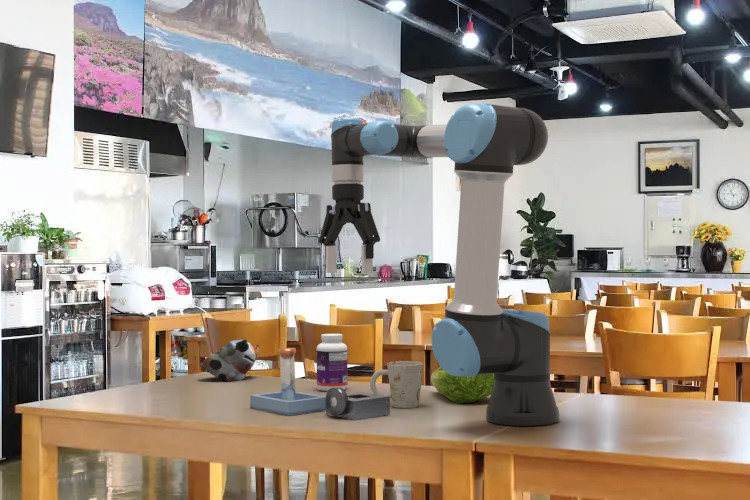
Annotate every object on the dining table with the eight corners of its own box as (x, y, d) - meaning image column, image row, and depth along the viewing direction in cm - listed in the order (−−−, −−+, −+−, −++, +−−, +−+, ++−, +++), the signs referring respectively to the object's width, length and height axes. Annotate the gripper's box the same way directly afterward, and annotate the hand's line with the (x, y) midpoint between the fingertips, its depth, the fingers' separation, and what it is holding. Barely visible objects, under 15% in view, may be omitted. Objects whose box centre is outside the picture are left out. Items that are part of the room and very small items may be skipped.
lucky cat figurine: (225, 374, 291) (248, 333, 291) (251, 394, 284) (274, 351, 284) (191, 365, 279) (214, 321, 279) (217, 385, 272) (241, 340, 272)
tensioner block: (390, 414, 217) (389, 385, 217) (347, 421, 209) (347, 390, 209) (361, 409, 224) (360, 380, 224) (319, 415, 217) (318, 385, 217)
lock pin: (301, 406, 226) (299, 348, 226) (286, 408, 223) (284, 350, 223) (291, 404, 229) (289, 347, 229) (276, 406, 226) (274, 349, 226)
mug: (420, 409, 223) (420, 365, 223) (366, 408, 226) (365, 364, 226) (426, 403, 232) (425, 361, 232) (373, 402, 234) (373, 360, 234)
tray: (327, 410, 224) (327, 396, 224) (288, 415, 217) (287, 402, 217) (289, 403, 235) (289, 390, 235) (250, 408, 228) (250, 395, 228)
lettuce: (465, 370, 255) (428, 342, 251) (513, 374, 232) (473, 344, 229) (442, 410, 252) (404, 383, 248) (488, 418, 229) (447, 389, 226)
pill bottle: (313, 388, 260) (312, 333, 260) (343, 387, 262) (342, 332, 262) (321, 392, 252) (320, 336, 252) (351, 391, 254) (350, 335, 254)
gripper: (394, 180, 228) (395, 273, 228) (328, 187, 247) (329, 272, 247) (369, 179, 223) (370, 273, 223) (304, 186, 243) (305, 272, 242)
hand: (348, 273), depth 235 cm, fingers open, 13 cm apart
